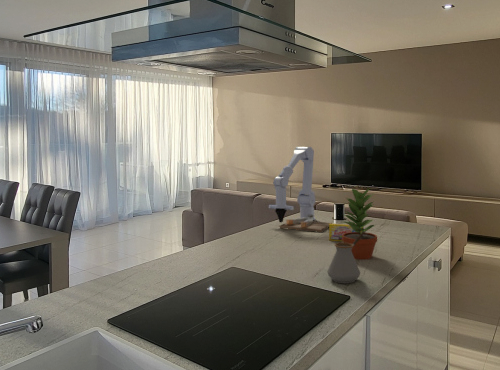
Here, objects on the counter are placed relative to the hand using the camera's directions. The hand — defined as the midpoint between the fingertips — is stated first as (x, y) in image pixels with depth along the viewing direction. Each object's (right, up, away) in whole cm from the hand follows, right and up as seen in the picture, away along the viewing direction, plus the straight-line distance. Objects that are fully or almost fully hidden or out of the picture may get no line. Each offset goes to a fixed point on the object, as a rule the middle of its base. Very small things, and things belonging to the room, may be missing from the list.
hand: (281, 221), depth 254 cm
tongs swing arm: (+9, -1, 0) cm, 9 cm away
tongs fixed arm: (+14, -1, -3) cm, 14 cm away
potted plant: (+28, -10, -63) cm, 70 cm away
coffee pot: (+19, -13, -89) cm, 92 cm away
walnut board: (+14, -3, -3) cm, 14 cm away
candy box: (+29, -7, -36) cm, 47 cm away
